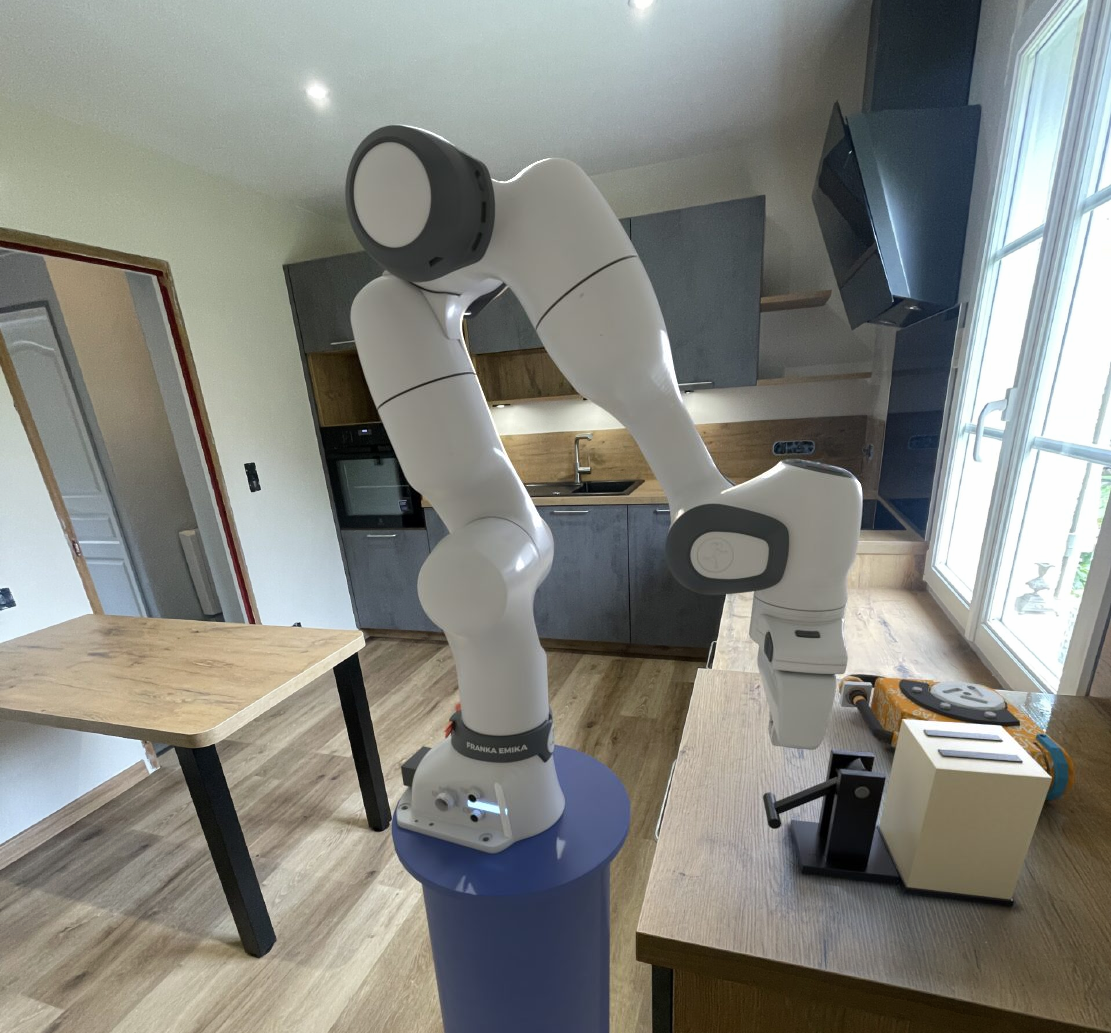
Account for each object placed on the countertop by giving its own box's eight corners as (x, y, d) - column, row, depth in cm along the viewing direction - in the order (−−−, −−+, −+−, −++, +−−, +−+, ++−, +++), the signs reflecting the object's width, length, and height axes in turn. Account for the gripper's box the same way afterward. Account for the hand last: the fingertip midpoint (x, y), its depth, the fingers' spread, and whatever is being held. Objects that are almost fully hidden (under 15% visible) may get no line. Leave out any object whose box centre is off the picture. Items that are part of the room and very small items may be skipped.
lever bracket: (801, 873, 66) (816, 779, 61) (790, 827, 73) (802, 740, 69) (897, 885, 64) (920, 789, 59) (875, 836, 71) (894, 747, 67)
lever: (774, 833, 67) (763, 818, 66) (768, 806, 71) (758, 792, 71) (879, 793, 62) (868, 776, 62) (865, 766, 67) (855, 751, 66)
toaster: (904, 893, 63) (935, 768, 57) (875, 830, 72) (899, 716, 67) (1012, 907, 61) (1056, 778, 55) (968, 839, 70) (1002, 723, 64)
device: (892, 746, 75) (835, 655, 102) (881, 799, 78) (828, 696, 105) (1094, 760, 71) (979, 661, 98) (1074, 815, 74) (967, 704, 101)
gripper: (752, 592, 70) (740, 694, 75) (777, 661, 51) (758, 790, 56) (808, 595, 69) (791, 699, 74) (853, 666, 50) (827, 798, 55)
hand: (777, 739), depth 65 cm, fingers closed
